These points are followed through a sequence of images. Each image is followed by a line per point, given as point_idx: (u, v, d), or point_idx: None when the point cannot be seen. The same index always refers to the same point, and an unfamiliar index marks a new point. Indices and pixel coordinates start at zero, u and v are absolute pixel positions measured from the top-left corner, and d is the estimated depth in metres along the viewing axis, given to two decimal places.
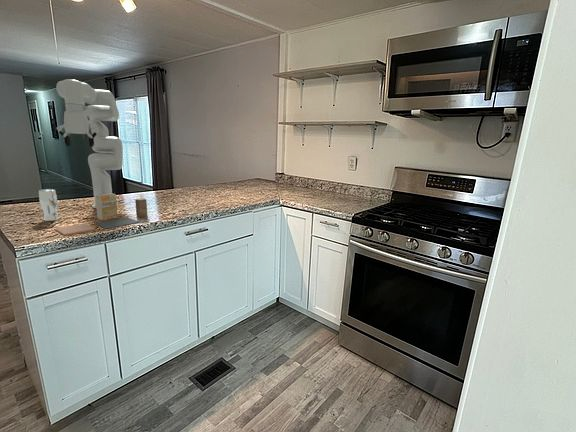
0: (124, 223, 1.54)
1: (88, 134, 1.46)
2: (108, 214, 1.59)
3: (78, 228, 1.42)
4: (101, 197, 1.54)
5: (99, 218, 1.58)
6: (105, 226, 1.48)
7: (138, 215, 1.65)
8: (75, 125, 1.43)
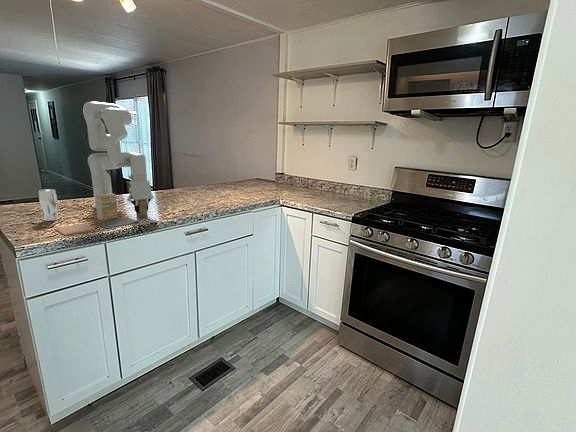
0: (124, 223, 1.54)
1: None
2: (108, 214, 1.59)
3: (78, 228, 1.42)
4: (101, 197, 1.54)
5: (99, 218, 1.58)
6: (105, 226, 1.48)
7: (138, 215, 1.65)
8: None
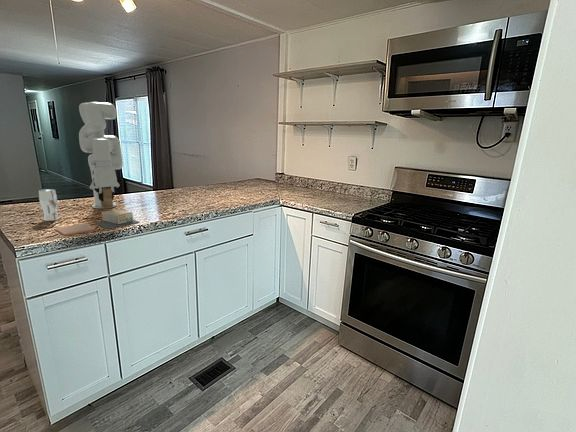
0: (124, 223, 1.54)
1: None
2: None
3: (78, 228, 1.42)
4: (118, 223, 1.51)
5: (102, 215, 1.55)
6: (105, 226, 1.48)
7: (102, 204, 1.57)
8: None
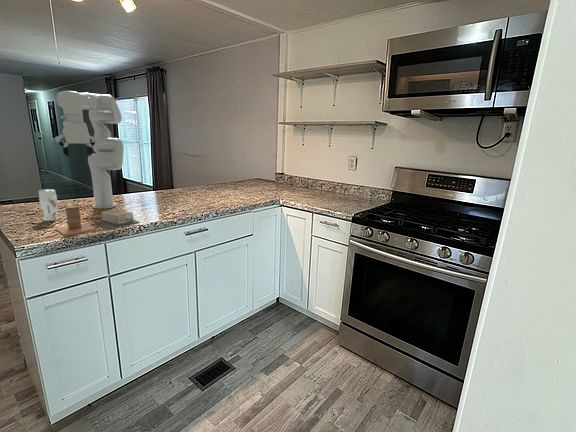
0: (124, 223, 1.54)
1: None
2: None
3: None
4: None
5: (102, 215, 1.55)
6: (105, 226, 1.48)
7: (69, 226, 1.40)
8: None
